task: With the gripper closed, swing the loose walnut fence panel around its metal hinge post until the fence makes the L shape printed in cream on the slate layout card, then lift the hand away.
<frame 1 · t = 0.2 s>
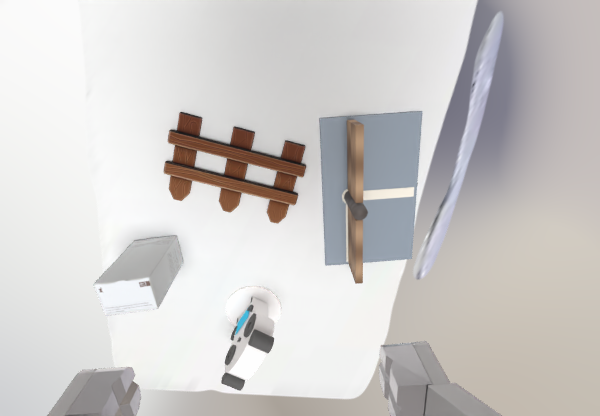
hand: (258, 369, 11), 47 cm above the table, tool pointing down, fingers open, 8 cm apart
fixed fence: (350, 195, 59), resting on layout card
white upright piece: (254, 307, 67), on the table
skincare box: (160, 249, 61), on the table
layout card: (369, 194, 59), on the table
decorative fence: (236, 170, 57), on the table
swing panel: (354, 160, 52), point 4 cm above the table, hinge at 0.0°
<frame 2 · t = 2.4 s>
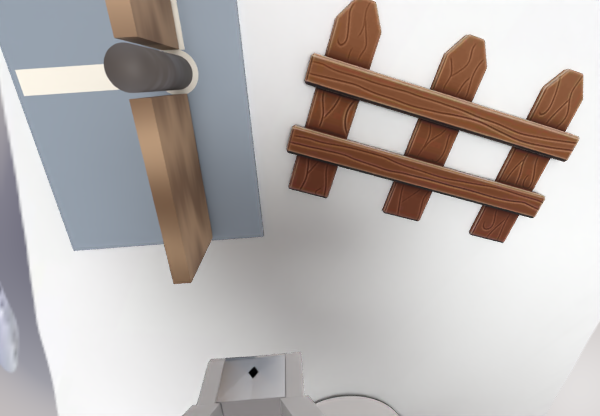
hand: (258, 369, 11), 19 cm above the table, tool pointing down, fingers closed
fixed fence: (177, 72, 24), resting on layout card
layout card: (131, 75, 24), on the table
decorative fence: (429, 133, 28), on the table
swing panel: (180, 184, 23), point 4 cm above the table, hinge at 0.0°
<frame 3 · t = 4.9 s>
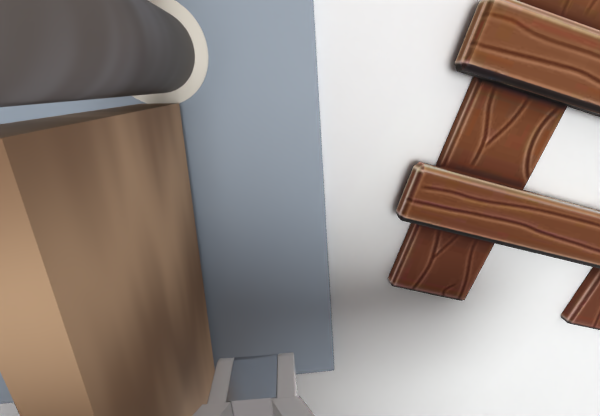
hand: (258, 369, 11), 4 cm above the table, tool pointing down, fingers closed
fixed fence: (160, 53, 10), resting on layout card
layout card: (50, 62, 10), on the table
swing panel: (150, 331, 9), point 4 cm above the table, hinge at 4.3°, touching gripper
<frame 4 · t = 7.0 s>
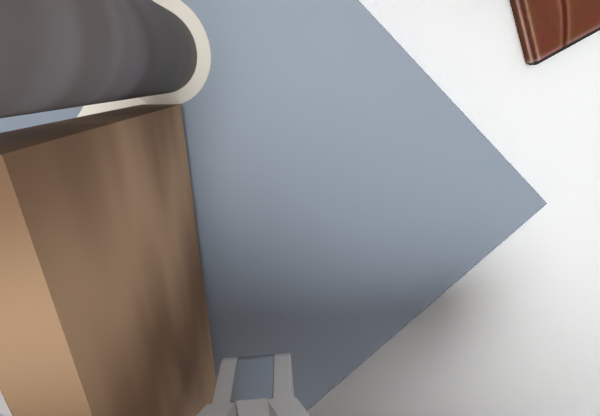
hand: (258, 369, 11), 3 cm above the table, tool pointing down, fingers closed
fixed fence: (161, 52, 10), resting on layout card
layout card: (105, 138, 11), on the table
swing panel: (152, 338, 9), point 4 cm above the table, hinge at 49.9°, touching gripper
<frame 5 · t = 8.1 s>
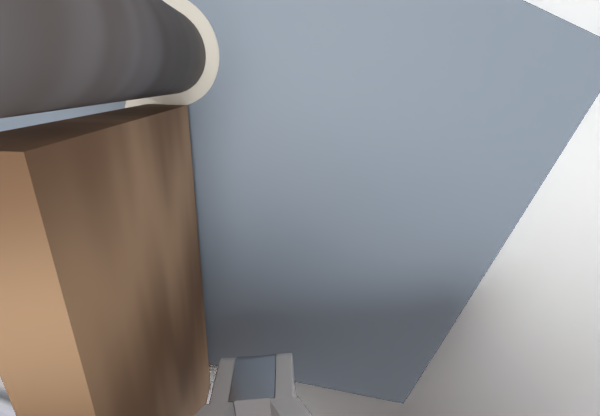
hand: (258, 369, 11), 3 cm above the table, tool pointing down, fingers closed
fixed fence: (169, 53, 10), resting on layout card
layout card: (150, 157, 11), on the table
swing panel: (150, 338, 9), point 4 cm above the table, hinge at 73.3°, touching gripper
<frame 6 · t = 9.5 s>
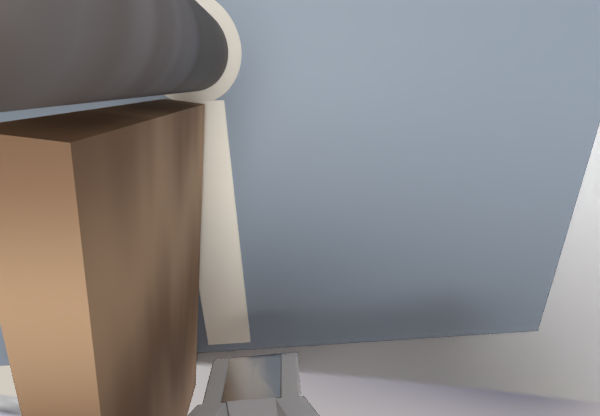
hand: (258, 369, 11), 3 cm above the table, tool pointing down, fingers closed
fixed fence: (191, 50, 10), resting on layout card
layout card: (206, 159, 12), on the table
swing panel: (147, 333, 9), point 4 cm above the table, hinge at 99.6°, touching gripper
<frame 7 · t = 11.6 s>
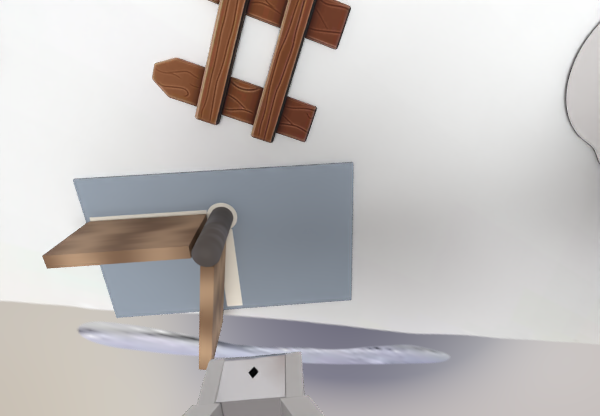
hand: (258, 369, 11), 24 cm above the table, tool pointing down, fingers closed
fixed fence: (222, 215, 35), resting on layout card
layout card: (226, 244, 36), on the table
swing panel: (213, 298, 34), point 4 cm above the table, hinge at 99.6°
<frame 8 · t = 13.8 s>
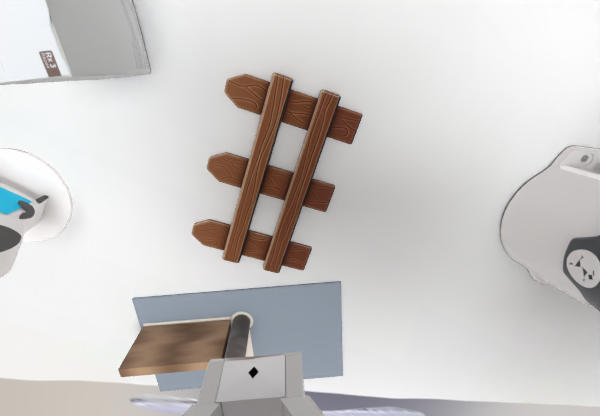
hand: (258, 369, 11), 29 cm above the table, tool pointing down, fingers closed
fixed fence: (242, 319, 46), resting on layout card
white upright piece: (25, 197, 38), on the table
skincare box: (116, 36, 33), on the table
layout card: (245, 338, 47), on the table
decorative fence: (271, 178, 39), on the table
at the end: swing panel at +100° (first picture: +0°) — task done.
